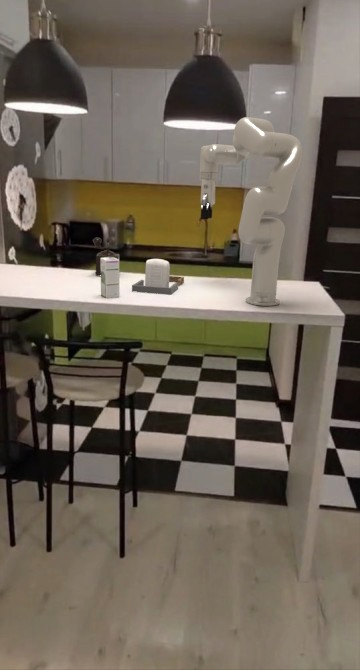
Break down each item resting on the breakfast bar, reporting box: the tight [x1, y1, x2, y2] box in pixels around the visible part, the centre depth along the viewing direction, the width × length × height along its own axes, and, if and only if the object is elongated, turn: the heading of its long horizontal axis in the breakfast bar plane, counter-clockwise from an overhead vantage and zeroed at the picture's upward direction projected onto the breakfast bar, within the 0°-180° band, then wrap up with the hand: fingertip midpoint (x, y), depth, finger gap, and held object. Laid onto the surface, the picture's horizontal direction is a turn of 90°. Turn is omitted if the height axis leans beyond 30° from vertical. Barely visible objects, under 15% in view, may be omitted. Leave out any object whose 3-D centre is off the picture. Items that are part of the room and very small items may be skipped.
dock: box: [169, 275, 185, 287], centre depth 224 cm, size 9×15×2 cm, turn 78°
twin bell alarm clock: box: [92, 237, 120, 276], centre depth 234 cm, size 16×11×18 cm
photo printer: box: [144, 258, 171, 288], centre depth 210 cm, size 10×4×12 cm, turn 74°
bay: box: [131, 279, 179, 295], centre depth 208 cm, size 14×16×2 cm
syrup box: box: [100, 257, 120, 299], centre depth 191 cm, size 6×6×14 cm
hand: (206, 218), depth 218 cm, fingers open, 9 cm apart
